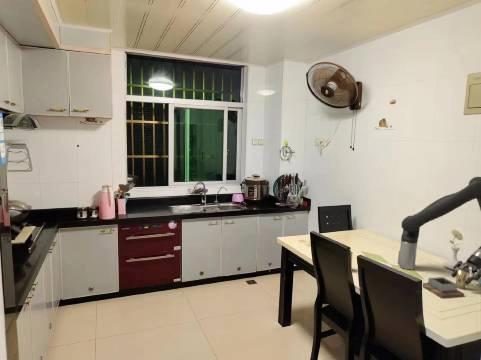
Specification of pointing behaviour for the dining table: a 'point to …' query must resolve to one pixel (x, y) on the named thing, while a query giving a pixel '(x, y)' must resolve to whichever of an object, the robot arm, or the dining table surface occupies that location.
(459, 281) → the gold dome cylinder
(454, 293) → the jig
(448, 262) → the flower in vase
